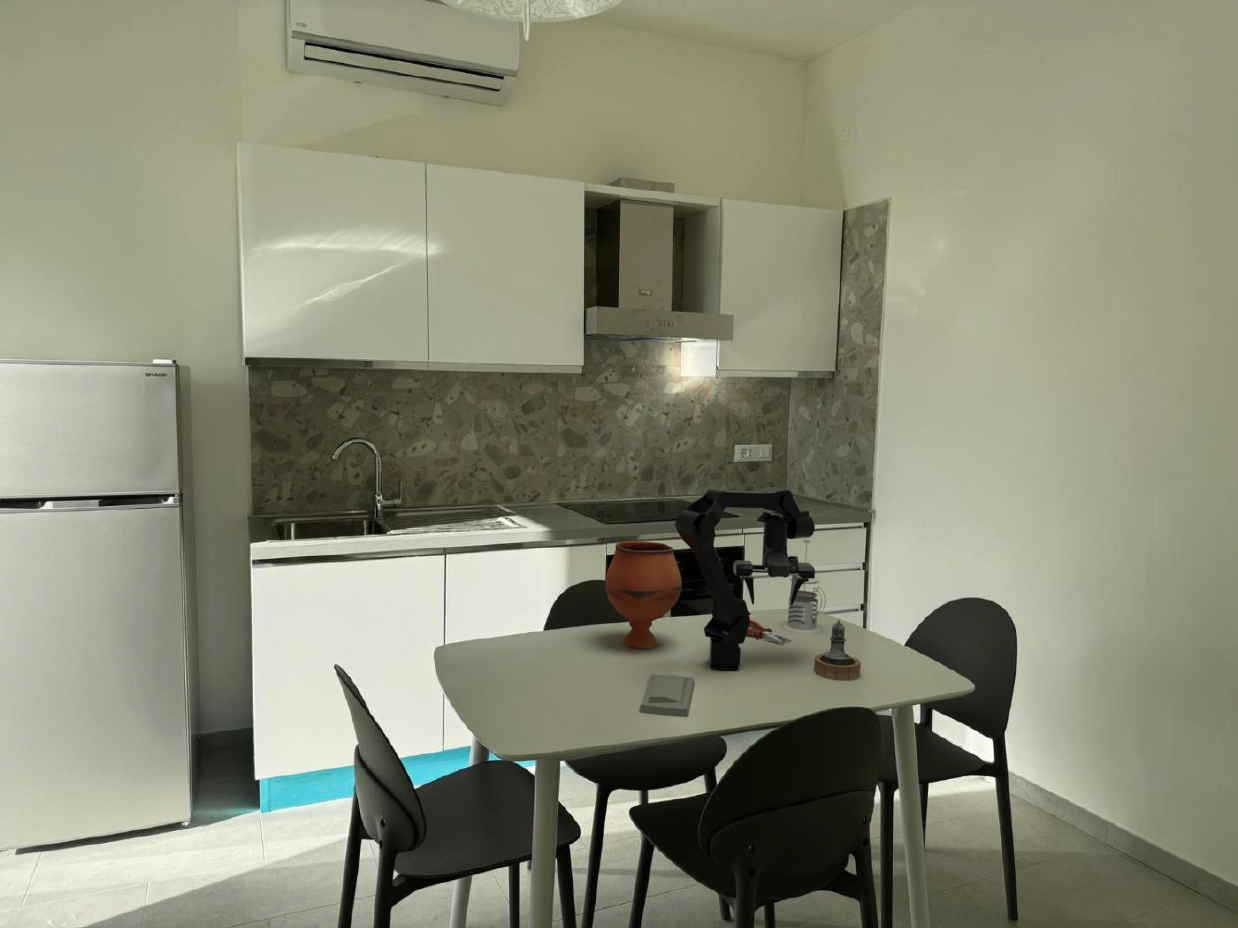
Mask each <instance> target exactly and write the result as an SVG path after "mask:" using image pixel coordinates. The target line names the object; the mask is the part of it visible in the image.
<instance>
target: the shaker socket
mask: <svg viewBox="0 0 1238 928" xmlns="http://www.w3.org/2000/svg"><path fill="white" fill-rule="evenodd" d="M849 656H850V658H849V661H848V663H847V665H846V666H840V665H832V664H828V663H827V662H826V660H825V656H824V653H821V654H818V655H816V656H815V657H814V667H813V672H815V674H816V675H818V676H820V677H823V678H826V679H830V680H835V681H836V680H837V681H851V680H855V679H856V680H857V679H858V678H859V677H860V676H861V666H862V665H861V664H862V662H861V661H860V660H859V659H858V658H856V657H854V656H851V655H849Z"/></svg>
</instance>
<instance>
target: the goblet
mask: <svg viewBox="0 0 1238 928" xmlns="http://www.w3.org/2000/svg"><path fill="white" fill-rule="evenodd" d="M681 575H682V574H681V572H680V568H679V566H678V563H677V560H676V557H675V555H674V548H673V546H669V545H667V544H666V543H662V542H652V541H646V540H645V541H644V540H630V541H629V540H625V541H619V542H617V543H616V544H615V550H614V554H613V557H612V560H611V563H610V565H609V567H608V568H607V571H606V577H605V592H606V595H607V599H608V601H609V602H610V604H611V605H612V608H614V609H615V611H617V612H618V613H619V615H620V616H622V617H623V618H625V620H628V625H629V627H630V628H631V630H630V631H629V632H628V633H627V634H626V635H625V636H624V638H623V640H622V644H623V643H624V644H623V645H625V646H627V647H629V648H633V647H634V649H635V648H636V649H652V648H654V646H655V647H657V646H658V642H657V639H656V637H655V636H654V634H653V633H652V632H651V630H650V628H651V627H652V626H653V622H654V621H656V620H659V619H660V618H661V617H663V616H665V615H666V614H667V613H668V612H670V611H671V610H672V609H673V607H674V606H675V605H676V603H677V602H678V600H679V598H680V596H681V592H682V589H683V588H682V587H683V586H682V585H683V581H682V576H681ZM656 645H657V646H656Z"/></svg>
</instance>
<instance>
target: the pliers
mask: <svg viewBox="0 0 1238 928" xmlns="http://www.w3.org/2000/svg"><path fill="white" fill-rule="evenodd" d="M723 633H726V634H728V632H726V631H723ZM746 637H747V638H751V639H753V638H754V639H756V640H758V641H759V640H765V641H768V642H772V643H776V644H777V643H778V644H781V645H784V644H785V643H791V642H792V640H791V639H789V638H786V637H784V636H782V635H780V634H777V633H774V632H773V631H772V628H770V627H769V628H768V627H767V628H765V627H763V626H762V625H761V624H760V623H758V622H756V621H754V620H751V619H750V624H749V628H748V631H747V634H746ZM746 637H745V638H746Z"/></svg>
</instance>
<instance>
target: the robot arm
mask: <svg viewBox="0 0 1238 928" xmlns="http://www.w3.org/2000/svg"><path fill="white" fill-rule="evenodd" d="M726 508H733V509H734V508H735V509H736V508H739V509H740V508H741V509H742V508H743V509H744V508H745V509H758V510H764V511H763V512H762V514H761V515H760V516H759V517H758V518H756V521H757V522H759V523H763V532H762V533H763V536H762V557H761V564H753V563H752V562H751V560H738V559H737V560H735V561H734V562H733V566H732V567H733V569H732V570H733V573H734V575H735V576H736V577H737V576H738V577H739V578H740V579H741V580H744V583H745V584H746V588H747V591H748V595H749V598H750V601H751V602H750V603H751V604H752V605H755V589H754V580H755V579H754V576H753V574H754V573H757V574H758V573H759V574H760V573H761V574H763V573H765V574H767V575H768V576H769V577H770V578H776V577H779V578H780V577H781V578H786V579H787V578H788V577H789V578H790V574H791V575H792V581H791V584H790V592H789V593H790V594H789V598H790V605H791V606H792V605H793V603H794V600H795V598H796V596H797V593H798V591H799V590H800V589H801V587H802V585H804V584H803V583H804V582H808V581H809V579H808V578H810V579H813V578H815V576H816V569H815V567H814V566H813V565H812V564H811V563H810V562H806V563H805V562H799V557H798V556H797V555H788V540H796V539H805V538H809V539H810V538H811V537H812V536H813V535H814V533H815V530H816V526H815V523H814V520H813V518H812V517H811V516H810V511H809V510H805V509H799V506H798V505H797V503H796V501H795V499H794V496H793V493H792V491H791V490H789V489H783V488H780V487H779V488H778V487H777V488H776V487H773V486H772V487H771V486H769V487H768V486H767V487H763V488H759V489H757V490H753V491H752V490H751V491H749V490H748V491H747V490H727V489H726V490H722V489H716V488H711V489H708V490H707V491H705V493H704V494H703V495H702V497H700V498H698V499H697V500H694V501H693V502H691V503H690V504H689V505H688V506H687V507H686V508H685V509H684V510H682V511H681V512H680V513H679V514H678V516H677V517H676V520H675V522H674V527H675V530H676V532H677V533H678V535H679V536H680V538H681V539H682V541H683V542H684V543H685V545H687V546H688V548H690V549H691V550H692V552H693V554H694V556H695V559H696V562H697V565H698V567H699V569H700V571H701V575H702V577H703V579H704V581H705V584H706V588H707V590H708V591H709V595H710V598H711V599H712V607H711V616H712V618H710V620H709V621H707V624H706V625H705V626H704V628H703V633H704V636H705V637H706V638H709V639H710V640H709V658H708V659H707V663H708V665H709V668H710V669H711V670H722V671H729V670H730V671H739V669H740V667H739V666H741V649H742V648H741V646H740V645H741V644H744V643H745V640H746V634H747V631H748V629H750V627H749V624H750V620H751V617H750V616H751V615H752V614H751V612H750V611H749V608H748V604H747V601H745V599H741V598H740V597H739V598H738V597H736V596H734V594H733V591H732V588H731V586H730V583H729V582H728V579H727V576H726V573H725V571H724V569H723V566H722V563H721V561H720V558H719V556H718V553H717V551H716V548H715V545H714V543H715V538H716V530H715V528H716V526H717V525H718V524H719V523H720V522H721V520H722V517H723V514H724V513H723V512H724V510H726ZM707 511H708V512H707ZM766 511H768V512H766ZM706 512H707V513H706ZM770 512H771V513H770ZM723 631H726V632H728V634H726V633H723Z"/></svg>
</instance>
